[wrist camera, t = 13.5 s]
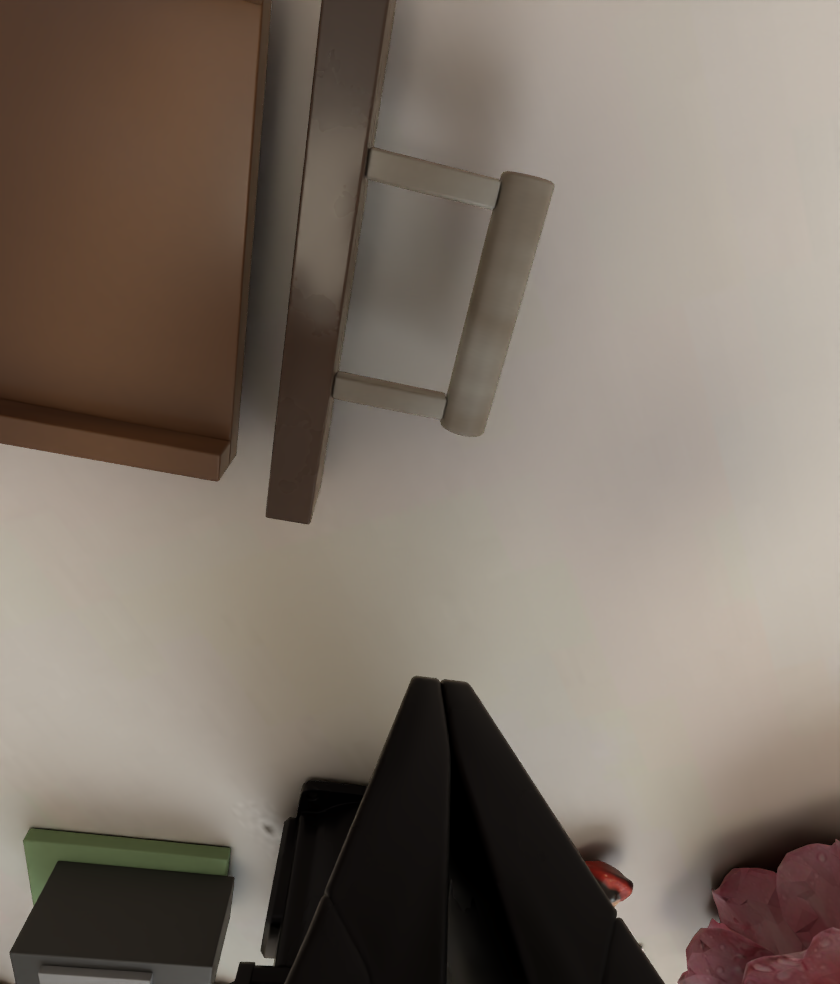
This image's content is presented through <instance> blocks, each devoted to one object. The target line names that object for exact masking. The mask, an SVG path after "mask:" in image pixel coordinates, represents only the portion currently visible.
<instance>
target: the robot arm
mask: <svg viewBox="0 0 840 984" xmlns="http://www.w3.org/2000/svg"><path fill="white" fill-rule="evenodd" d="M616 916H617V911H616V909H615V908H614V906H613V905H612V903H611V902H610V900H609V899H608V897H607V895H606V894H605V892H604V891H603V889H602V888H601V886H600V885H599V883H598V882H597V880H596V878H595V877H594V875H593V874H592V872H591V871H590V869H589V868H588V866H587V865H586V863H585V861H584V860H583V858H582V857H581V855H580V854H579V852H578V851H577V849H576V848H575V846H574V844H573V843H572V841H571V840H570V838H569V837H568V835H567V834H566V832H565V831H564V829H563V828H562V826H561V824H560V823H559V821H558V820H557V818H556V817H555V815H554V814H553V812H552V811H551V809H550V807H549V806H548V804H547V803H546V801H545V800H544V798H543V797H542V795H541V794H540V792H539V790H538V789H537V787H536V786H535V784H534V783H533V781H532V780H531V778H530V777H529V775H528V773H527V772H526V770H525V769H524V767H523V766H522V764H521V763H520V761H519V760H518V758H517V756H516V755H515V753H514V752H513V750H512V749H511V747H510V746H509V744H508V743H507V741H506V740H505V738H504V736H503V735H502V733H501V732H500V730H499V729H498V727H497V726H496V724H495V723H494V721H493V719H492V718H491V716H490V715H489V713H488V712H487V710H486V709H485V707H484V706H483V704H482V702H481V701H480V699H479V698H478V696H477V695H476V693H475V692H474V690H473V689H472V687H471V686H470V685H469V684H468V683H467V682H463V681H455V680H447V679H444V680H442V681H441V682H440V681H439V680H438V679H437V678H430V677H422V676H414V677H413V678H412V679H411V681H410V684H409V686H408V688H407V691H406V693H405V696H404V698H403V701H402V703H401V706H400V708H399V710H398V713H397V715H396V718H395V720H394V723H393V725H392V728H391V730H390V732H389V735H388V737H387V740H386V742H385V745H384V747H383V750H382V752H381V754H380V757H379V759H378V762H377V764H376V767H375V769H374V772H373V774H372V776H371V779H370V781H369V784H368V786H367V787H366V786H357V785H348V784H340V783H331V782H322V781H308V782H306V783H304V784H303V786H302V789H301V795H300V800H299V805H298V810H297V816H296V818H294V817H290V818H288V819H287V820H286V821H285V822H284V827H283V833H282V838H281V843H280V848H279V854H278V859H277V864H276V869H275V875H274V880H273V885H272V890H271V896H270V901H269V906H268V911H267V917H266V922H265V928H264V934H263V939H262V945H261V952H262V954H263V956H264V958H275V959H274V965H273V966H255V962H240V964H239V967H238V971H237V975H236V979H235V981H234V982H232V983H229V984H665V983H664V982H663V980H662V979H661V977H660V976H659V974H658V973H657V971H656V970H655V968H654V967H653V965H652V964H651V962H650V961H649V960H648V958H647V957H646V955H645V954H644V952H643V951H642V949H641V948H640V946H639V944H638V943H637V941H636V940H635V938H634V937H633V935H632V934H631V932H630V931H629V929H628V927H627V926H626V924H625V923H624V921H623V920H622V919H621V918H616Z"/></svg>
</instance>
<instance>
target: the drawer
mask: <svg viewBox="0 0 840 984" xmlns="http://www.w3.org/2000/svg"><path fill="white" fill-rule="evenodd" d="M396 1H397V0H322V3H321V12H320V21H319V30H318V39H317V48H316V57H315V67H314V76H313V85H312V94H311V103H310V112H309V122H308V131H307V140H306V149H305V158H304V167H303V176H302V186H301V195H300V204H299V213H298V222H297V231H296V241H295V250H294V259H293V268H292V277H291V286H290V296H289V305H288V314H287V323H286V332H285V341H284V350H283V360H282V369H281V378H280V387H279V396H278V405H277V415H276V424H275V433H274V442H273V451H272V460H271V469H270V479H269V488H268V497H267V506H266V517H267V518H273V519H279V520H285V521H291V522H297V523H302V524H310V522H311V519H312V516H313V512H314V509H315V505H316V502H317V498H318V495H319V491H320V488H321V482H322V476H323V469H324V463H325V457H326V450H327V444H328V437H329V431H330V424H331V418H332V412H333V405H334V399H338V400H343V401H348V402H353V403H358V404H363V405H368V406H373V407H378V408H383V409H388V410H393V411H398V412H403V413H408V414H414V415H419V416H424V417H429V418H434V419H439V420H440V419H441V420H440V422H441V425H442V426H443V427H444V428H445V429H447V430H448V431H450V432H453V433H455V434H458V435H462V436H469V437H477V436H481V435H482V434H483V433H484V430H485V427H486V423H487V420H488V416H489V413H490V409H491V406H492V402H493V399H494V395H495V392H496V389H497V385H498V382H499V378H500V375H501V371H502V368H503V364H504V361H505V357H506V354H507V350H508V347H509V343H510V340H511V336H512V333H513V329H514V326H515V322H516V319H517V315H518V312H519V308H520V305H521V301H522V298H523V295H524V291H525V288H526V284H527V281H528V277H529V274H530V270H531V267H532V263H533V260H534V256H535V253H536V249H537V246H538V242H539V239H540V235H541V232H542V228H543V225H544V221H545V218H546V214H547V211H548V207H549V204H550V201H551V197H552V194H553V190H554V184H553V183H552V182H551V181H548V180H546V179H543V178H539V177H536V176H532V175H528V174H523V173H518V172H512V171H505V172H503V173H502V174H501V178H500V180H499V179H495V178H492V177H488V176H484V175H480V174H476V173H472V172H468V171H464V170H460V169H456V168H453V167H449V166H445V165H441V164H437V163H433V162H429V161H425V160H421V159H417V158H414V157H410V156H406V155H402V154H398V153H394V152H390V151H386V150H382V149H379V148H375V147H374V142H375V136H376V129H377V123H378V116H379V110H380V103H381V97H382V91H383V84H384V78H385V71H386V65H387V59H388V52H389V46H390V39H391V33H392V26H393V20H394V14H395V7H396ZM271 5H272V0H0V443H2V444H7V445H13V446H19V447H24V448H30V449H36V450H41V451H47V452H53V453H58V454H64V455H70V456H75V457H81V458H87V459H92V460H98V461H104V462H109V463H115V464H121V465H126V466H132V467H138V468H143V469H149V470H155V471H160V472H166V473H172V474H177V475H183V476H188V477H194V478H200V479H205V480H211V481H219V480H220V478H221V477H222V475H223V474H224V472H225V471H226V469H227V468H228V466H229V465H230V463H231V462H232V460H233V459H234V457H235V456H236V453H237V440H238V427H239V414H240V402H241V389H242V376H243V363H244V350H245V338H246V325H247V312H248V299H249V287H250V274H251V261H252V248H253V235H254V223H255V210H256V197H257V184H258V171H259V159H260V146H261V133H262V120H263V108H264V95H265V82H266V69H267V56H268V44H269V31H270V18H271ZM369 180H372V181H376V182H380V183H384V184H388V185H392V186H396V187H400V188H404V189H408V190H412V191H416V192H420V193H424V194H428V195H432V196H436V197H440V198H444V199H448V200H452V201H456V202H460V203H464V204H468V205H472V206H476V207H480V208H484V209H489V210H491V209H493V210H492V214H491V218H490V222H489V226H488V230H487V234H486V238H485V242H484V246H483V250H482V255H481V259H480V263H479V267H478V271H477V275H476V279H475V283H474V287H473V291H472V295H471V299H470V303H469V307H468V311H467V315H466V319H465V323H464V327H463V331H462V335H461V339H460V343H459V347H458V351H457V355H456V359H455V364H454V368H453V372H452V376H451V380H450V384H449V388H448V392H447V396H446V395H445V393H443V392H438V391H433V390H428V389H424V388H419V387H414V386H409V385H404V384H399V383H394V382H390V381H385V380H380V379H375V378H370V377H365V376H360V375H355V374H351V373H346V372H341V371H339V367H340V360H341V354H342V347H343V341H344V335H345V328H346V322H347V315H348V309H349V303H350V296H351V290H352V283H353V277H354V270H355V264H356V258H357V251H358V245H359V238H360V232H361V225H362V219H363V213H364V206H365V200H366V193H367V187H368V181H369Z"/></svg>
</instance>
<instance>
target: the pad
mask: <svg viewBox="0 0 840 984" xmlns="http://www.w3.org/2000/svg"><path fill="white" fill-rule="evenodd" d="M23 843H24V849H25V855H26V862H27V868H28V874H29V880H30V887H31V893H32V899H33V905H35V903H36V901H37V899H38V897H39V895H40V894H41V892H42V890H43V888H44V886H45V884H46V882H47V880H48V878H49V876H50V874H51V873H52V871H53V869H54V867H55V865H56V863H57V861H68V862H79V863H89V864H100V865H111V866H122V867H133V868H144V869H155V870H166V871H177V872H188V873H199V874H210V875H221V876H228V869H229V860H230V851H231V849H230V848H226V847H216V846H206V845H196V844H185V843H175V842H165V841H155V840H145V839H135V838H124V837H114V836H104V835H94V834H84V833H74V832H64V831H53V830H43V829H33V828H31V829H30V830H29V831H28V833H27V835H26V837H25V838H24V840H23Z"/></svg>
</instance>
